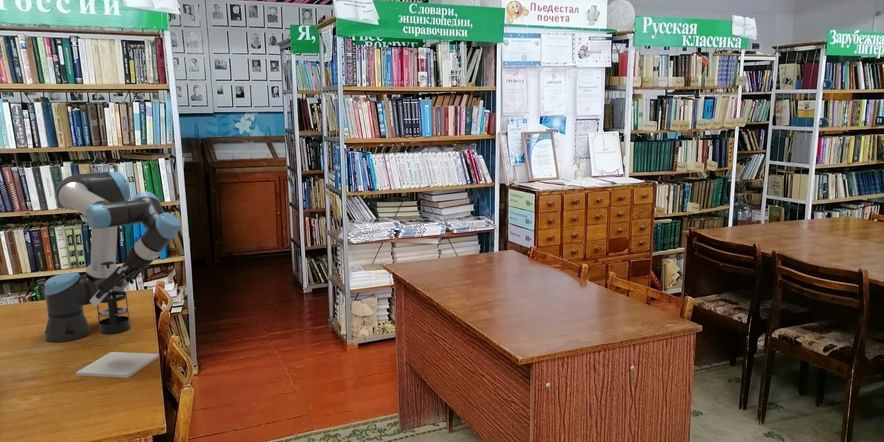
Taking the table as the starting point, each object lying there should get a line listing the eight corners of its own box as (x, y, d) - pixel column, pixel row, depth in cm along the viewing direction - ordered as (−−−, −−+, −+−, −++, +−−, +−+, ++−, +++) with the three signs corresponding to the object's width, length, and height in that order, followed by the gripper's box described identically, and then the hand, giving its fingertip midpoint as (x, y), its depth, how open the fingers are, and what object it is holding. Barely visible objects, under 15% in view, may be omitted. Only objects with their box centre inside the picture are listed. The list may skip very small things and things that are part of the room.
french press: (130, 332, 214) (122, 264, 209) (98, 337, 210) (89, 267, 206) (131, 322, 224) (124, 256, 220) (100, 326, 221) (92, 259, 217)
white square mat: (111, 354, 230) (111, 351, 229) (159, 356, 227) (158, 353, 227) (76, 375, 212) (75, 372, 212) (127, 377, 209) (127, 374, 209)
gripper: (130, 269, 200) (89, 317, 205) (171, 253, 222) (133, 296, 227) (113, 252, 200) (71, 300, 205) (155, 237, 222) (117, 281, 227)
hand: (104, 298), depth 216 cm, fingers closed on french press, 10 cm apart
